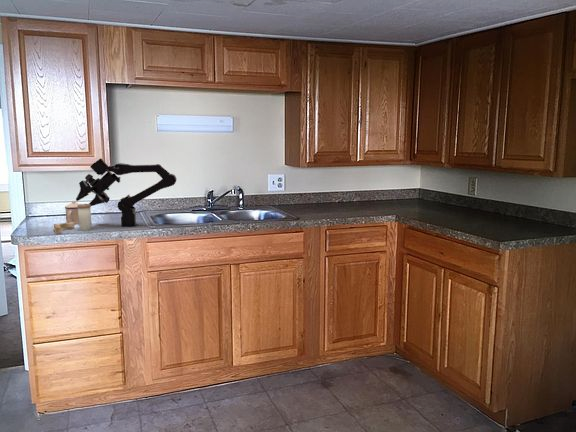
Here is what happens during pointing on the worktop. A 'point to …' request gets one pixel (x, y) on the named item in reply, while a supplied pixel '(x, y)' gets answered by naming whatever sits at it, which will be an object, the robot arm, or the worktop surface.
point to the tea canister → (84, 217)
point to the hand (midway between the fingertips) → (82, 203)
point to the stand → (63, 227)
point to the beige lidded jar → (72, 213)
